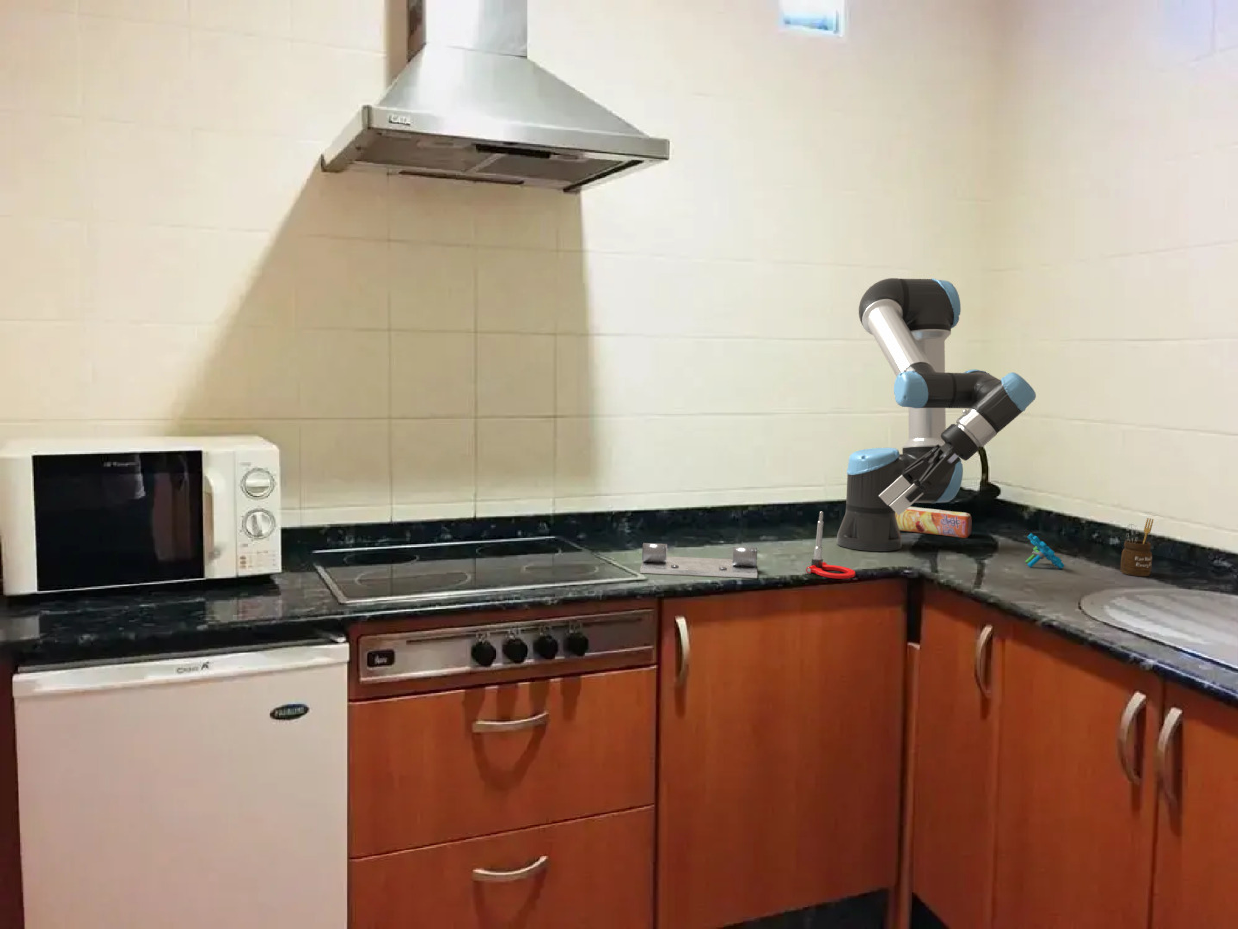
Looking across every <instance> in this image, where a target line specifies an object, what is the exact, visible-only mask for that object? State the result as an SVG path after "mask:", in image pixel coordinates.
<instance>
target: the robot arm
mask: <svg viewBox="0 0 1238 929" xmlns="http://www.w3.org/2000/svg"><path fill="white" fill-rule="evenodd" d="M961 312H962V310H961V300H960V294H959V292H958V290H957V288H956V287H955V286H954V284H953V283H951V282H950V281H949V280H943V279H936V278H896V277H890V278H884V279H881V280H879V281H876V282H875V283H874V284H872V285H871V286H869V288H868V289H867V290H866V291H865V292H864V294H863V296H862V297H861V299H860V302H859V305H858V317H859V321H860V324H861V325H862V326H863V329H864V330H865V332H867V333H868V334H870V335H872V336H873V337H874V340H875V342H876V344H878V346H879V348H880V350H881V352H882V354H883V355H884V357H885V358H886V360H887V363H888V364H889V366H890V368H891V369H892V371H893V373H894V375H895V381H894V383H893V384H894V385H893V394H894V399H895V402H896V404H897V405H898V406H900V407H902V408H903V407H904V408H908V441H907V442H906V443H905V444H904V445H903V446H902V450H901V451H902V453H900V451H899V449H897V448H896V447H876V448H874V447H872V448H866V449H865V448H864V449H861V450H860V449H859V450H857V451H854V452H852V453H851V454H850V455H849V457H848V462H847V463H848V464H847V470H846V474H847V475H846V476H847V478H846V479H847V481H846V501H845V502H846V503H845V504H846V505H845V514H844V516H843V518H842V521H841V524H840V527H839V529H838V532H837V534H836V544H837V545H838V546H840V547H843V548H845V549H846V548H847V549H851V550H852V549H853V550H858V551H865V552H866V551H867V552H891V551H897V550H901V548H902V543H903V542H902V541H903V540H902V535H901V531H900V530H899V527H898V523H897V519H896V513H897V514H898V515H900V514H901V513H903V512H904V511H905V510H906V509H907V508H908V507H912V505H913V504H914V503H915V504H916V503H917V504H919V503H921V504H936V503H947V502H950V501H952V500H953V499H954V498H955V497H956V496H957V494H958V493H959V491H960V488H961V485H962V483H963V475H964V467H963V463H962V460H963V461H965V462H966V461H969V459H971V457H973V456H974V455H975V454H977V452H979V447H980V448H984V446H986V445H987V444H988V443H989V442H990V441H991V440H992V439H993V438H995V437H996V436H997V434H999V432H1001V431H1002V430H1003V429H1004V428H1006V427H1007V426H1008V425H1009V424H1010V423H1011V422H1013V421H1014V420H1015V419H1016V418H1018V417H1019V415H1020V414H1023V412H1025V411H1026V409H1027V408H1028V407H1029V406H1030V405H1031V404H1032V403H1033V402H1034V401H1035V400H1036V398H1037V394H1036V391H1035V390H1034V388H1033V387H1032V386H1031V385H1030V384H1029V382H1027V380H1026V379H1024V378H1023V377H1022V376H1021V375H1019V374H1018V373H1016V372H1009V373H1008V374H1006V375H1005V376H1003V377H1001V378H997V377H996V376H994V375H992V374H990V373H989V372H987V371H985V370H980V369H975V368H974V369H969V370H966V371H964V372H946V360H945V358H946V356H945V355H946V353H945V352H946V351H945V348H946V347H945V343H946V342H945V341H946V339H948V338H949V337H950V336H951V334H952V329H953V328H956V326H957V325H958V323H959V321H960V316H961ZM946 409H963V410H962V412H961V413H962V414H963V415H961V416H959V418H957V419H956V424H955V423H952V424H950V425H949V426H948V427H947V426H946V424H947V423H946V422H947V421H946V420H947V419H946V416H947V415H946ZM946 427H947V428H946Z"/></svg>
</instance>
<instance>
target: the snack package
mask: <svg viewBox="0 0 1238 929" xmlns="http://www.w3.org/2000/svg"><path fill="white" fill-rule="evenodd" d="M896 519H897V523H898V527H899V530H900V532H901V531H902V532H908V533H909V532H910V533H920V534H926V535H927V534H929V535H937V536H938V535H939V536H945V537H946V536H947V537H952V538H960V539H967V538H968V537H969V536H970V535H971V534H972V533H971V532H972V522H973V521H972V520H973V519H972V516H971V513H968V512H964V511H963V512H962V511H953V510H952V511H951V510H944V509H943V510H942V509H936V508H935V509H934V508H926V507H925V508H924V507H917V506H909V507H908V508H907V509H906V510H905V511H904V512H903V513H901V514H900V515H898V514H897V513H896Z"/></svg>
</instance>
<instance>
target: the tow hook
mask: <svg viewBox="0 0 1238 929" xmlns="http://www.w3.org/2000/svg"><path fill="white" fill-rule="evenodd" d="M823 520H824V511H819V516H818V521H817V525H816V526H817V527H816V528H817V529H816V537H815V538H816V539H815V546H814V550H813V558H811V565H810V566H807V567H806V568H805V571H806V573H807V574H811V573H812V574H816V575H818V576H821V577H825V578H829V579H838V580H839V579H840V580H844V579H845V580H846V579H851V578H855V577H856V571H855V570H854V569H852V568H849V567H845V566H842V565H841V566H840V565H831V564H828V563H826V562H825V561H824V559H823V558H822V556H823V547H822V545H823V532H824V521H823ZM828 571H838V572H842V573H835V572H828Z"/></svg>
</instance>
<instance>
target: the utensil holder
mask: <svg viewBox="0 0 1238 929" xmlns="http://www.w3.org/2000/svg"><path fill="white" fill-rule="evenodd" d="M1153 523H1154V518H1149V517H1148V518H1146V521H1145V525H1144V528H1143V532H1144V538H1143V540H1140V539H1139V540H1138V538H1135V539H1130V538H1129V537H1130V536H1129V534H1126V537H1127V539H1126V540H1125V541H1124V543H1123V547H1124V548H1123V550H1122V551H1121V555H1120V556H1121V557H1120V572H1121V573H1122V574H1124V575H1127V576H1131V577H1132V576H1134V577H1149V576H1150V574H1151V571H1152V562H1153V553H1152V551H1151V549H1152V544H1151V542H1150V541H1146V540H1147V536H1148V534H1151V531H1152V527H1153ZM1133 526H1134V528H1137V525H1135V524H1134V523H1129V524H1128V525H1127V530H1129V528H1130V527H1131V534H1134V532H1133ZM1128 527H1129V528H1128ZM1135 533H1138V529H1135ZM1127 535H1128V536H1127Z"/></svg>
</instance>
